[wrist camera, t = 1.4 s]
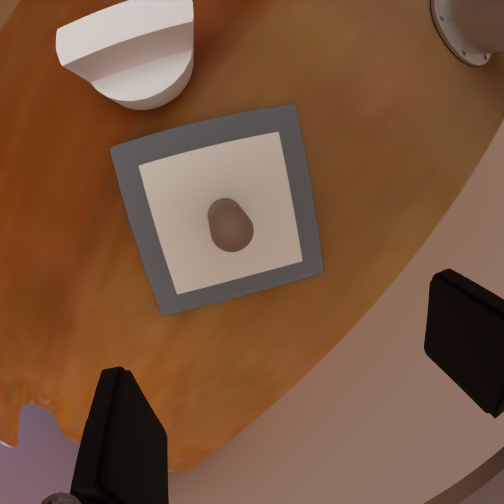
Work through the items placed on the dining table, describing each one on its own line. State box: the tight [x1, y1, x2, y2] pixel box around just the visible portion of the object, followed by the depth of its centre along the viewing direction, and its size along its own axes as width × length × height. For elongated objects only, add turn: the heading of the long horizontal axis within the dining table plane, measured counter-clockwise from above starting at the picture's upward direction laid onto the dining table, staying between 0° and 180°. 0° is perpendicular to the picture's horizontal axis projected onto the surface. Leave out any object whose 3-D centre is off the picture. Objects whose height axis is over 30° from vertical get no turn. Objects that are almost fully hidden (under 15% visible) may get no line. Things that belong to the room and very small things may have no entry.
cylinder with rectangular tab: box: [56, 0, 194, 110], centre depth 19 cm, size 9×9×12 cm
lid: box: [139, 132, 302, 295], centre depth 27 cm, size 13×13×7 cm
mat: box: [110, 104, 324, 316], centre depth 30 cm, size 18×18×1 cm
